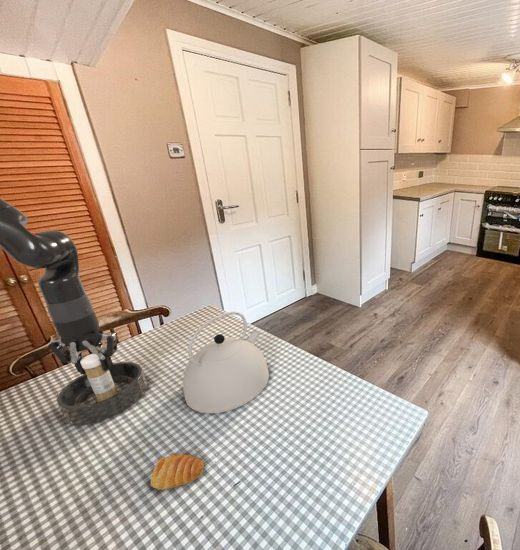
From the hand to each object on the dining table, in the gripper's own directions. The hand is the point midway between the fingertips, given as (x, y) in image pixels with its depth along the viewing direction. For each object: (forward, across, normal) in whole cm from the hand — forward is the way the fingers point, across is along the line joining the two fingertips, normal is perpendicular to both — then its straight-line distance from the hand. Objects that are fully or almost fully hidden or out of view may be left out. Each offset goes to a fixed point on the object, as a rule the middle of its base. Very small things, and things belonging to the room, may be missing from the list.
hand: (96, 370), depth 80 cm
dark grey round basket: (+10, 0, 0) cm, 10 cm away
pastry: (+10, -25, +28) cm, 39 cm away
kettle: (+10, -32, +1) cm, 34 cm away
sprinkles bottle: (+10, 0, 0) cm, 10 cm away
